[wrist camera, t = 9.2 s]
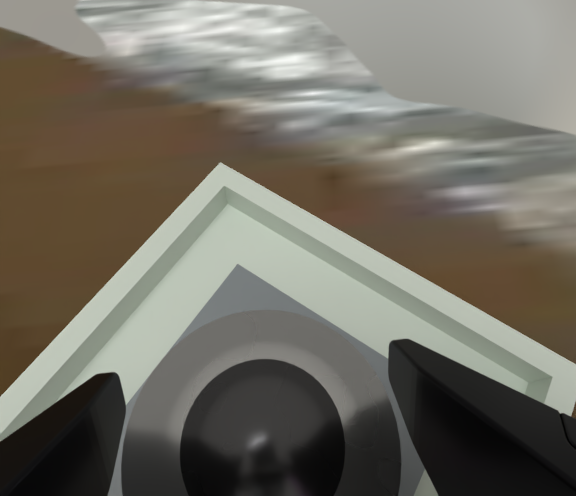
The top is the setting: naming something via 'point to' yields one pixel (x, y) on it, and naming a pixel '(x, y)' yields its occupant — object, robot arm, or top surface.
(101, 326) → the sage tray
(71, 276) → the top surface
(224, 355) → the metal sleeve
